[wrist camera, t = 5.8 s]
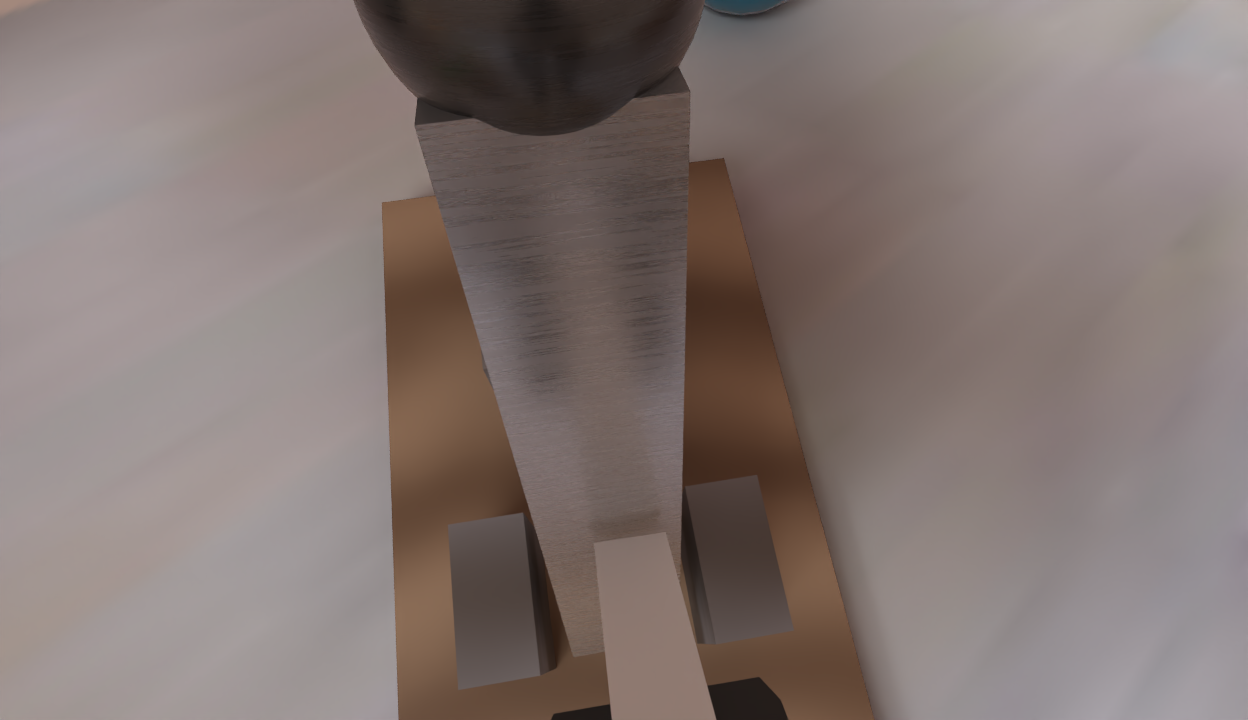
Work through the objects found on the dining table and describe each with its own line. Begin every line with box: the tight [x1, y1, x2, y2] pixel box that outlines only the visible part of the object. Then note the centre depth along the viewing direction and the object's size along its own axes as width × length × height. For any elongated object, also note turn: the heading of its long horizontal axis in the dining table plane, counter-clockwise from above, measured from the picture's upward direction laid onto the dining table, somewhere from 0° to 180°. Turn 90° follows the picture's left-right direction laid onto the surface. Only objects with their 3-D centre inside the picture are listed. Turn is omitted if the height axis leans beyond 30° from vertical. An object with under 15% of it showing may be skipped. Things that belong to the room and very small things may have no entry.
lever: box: [354, 0, 705, 657], centre depth 13 cm, size 4×4×19 cm
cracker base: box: [382, 158, 874, 720], centre depth 20 cm, size 26×14×9 cm, turn 9°
